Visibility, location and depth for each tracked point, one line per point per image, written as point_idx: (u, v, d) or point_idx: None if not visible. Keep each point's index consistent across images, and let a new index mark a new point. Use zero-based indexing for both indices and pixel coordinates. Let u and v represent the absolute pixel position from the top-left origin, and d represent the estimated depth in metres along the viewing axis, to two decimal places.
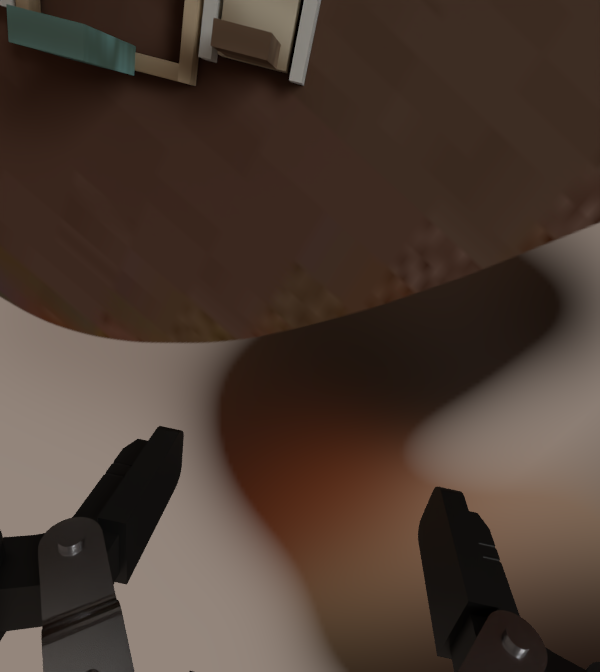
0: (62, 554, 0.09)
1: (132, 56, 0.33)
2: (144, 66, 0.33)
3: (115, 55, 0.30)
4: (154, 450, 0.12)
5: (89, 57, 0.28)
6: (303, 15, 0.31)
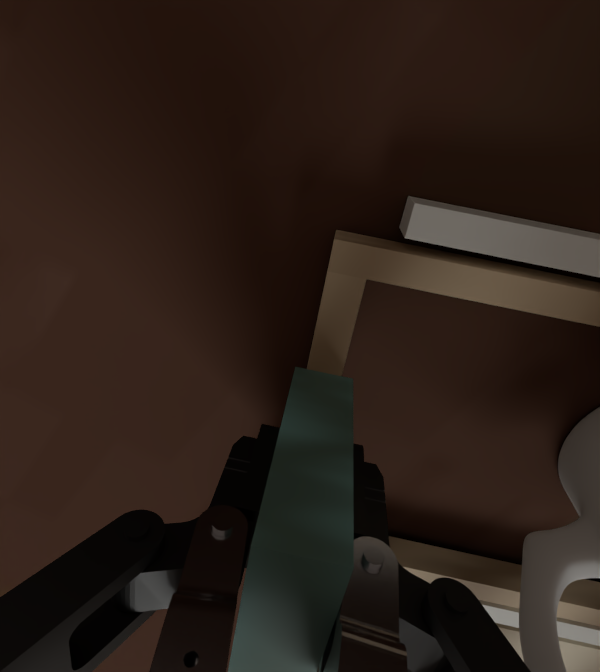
0: (219, 539, 0.09)
1: None
2: None
3: None
4: (265, 446, 0.13)
5: None
6: None
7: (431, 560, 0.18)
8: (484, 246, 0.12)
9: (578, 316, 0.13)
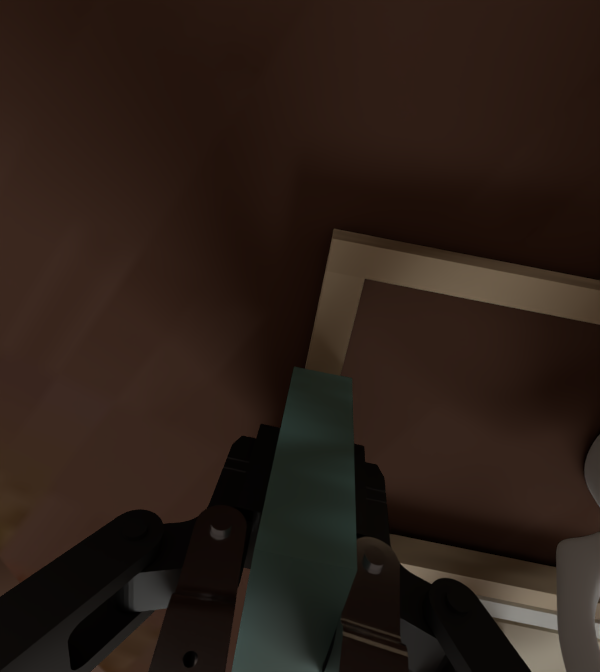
0: (218, 538, 0.09)
1: None
2: None
3: None
4: (264, 446, 0.13)
5: None
6: None
7: (430, 556, 0.19)
8: None
9: (576, 314, 0.13)
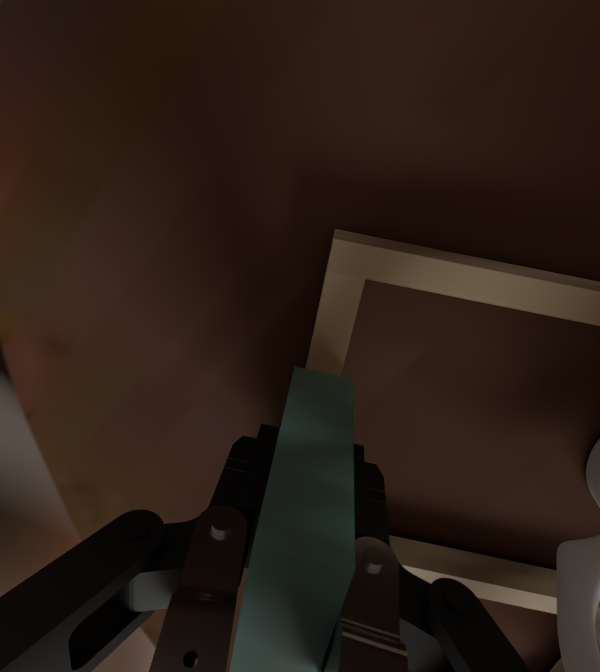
0: (219, 538, 0.09)
1: None
2: None
3: None
4: (265, 446, 0.13)
5: None
6: None
7: (430, 558, 0.19)
8: None
9: (577, 315, 0.13)
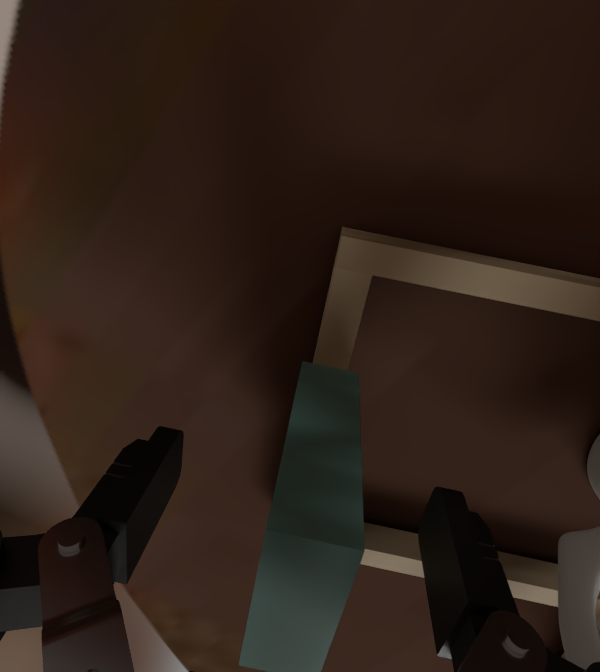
0: (62, 554, 0.09)
1: None
2: None
3: None
4: (154, 450, 0.12)
5: None
6: None
7: None
8: None
9: (578, 311, 0.13)
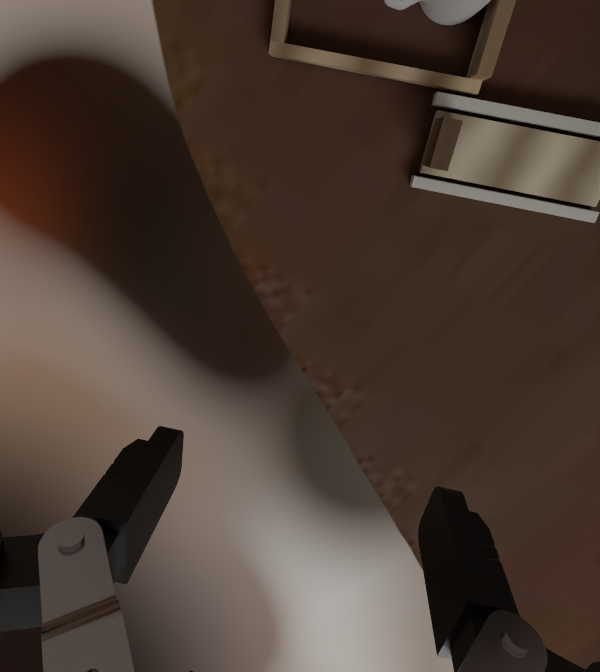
0: (62, 554, 0.09)
1: None
2: (279, 3, 0.36)
3: None
4: (154, 450, 0.12)
5: None
6: (456, 186, 0.41)
7: None
8: None
9: None
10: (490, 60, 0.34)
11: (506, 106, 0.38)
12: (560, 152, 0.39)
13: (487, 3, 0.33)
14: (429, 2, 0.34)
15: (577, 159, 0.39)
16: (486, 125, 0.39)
